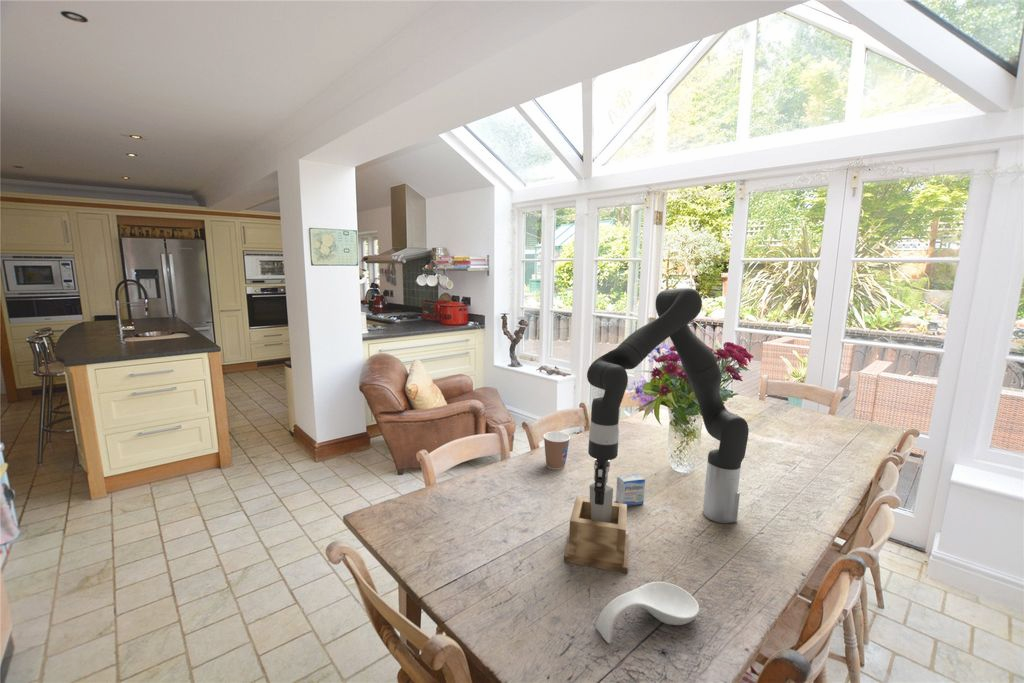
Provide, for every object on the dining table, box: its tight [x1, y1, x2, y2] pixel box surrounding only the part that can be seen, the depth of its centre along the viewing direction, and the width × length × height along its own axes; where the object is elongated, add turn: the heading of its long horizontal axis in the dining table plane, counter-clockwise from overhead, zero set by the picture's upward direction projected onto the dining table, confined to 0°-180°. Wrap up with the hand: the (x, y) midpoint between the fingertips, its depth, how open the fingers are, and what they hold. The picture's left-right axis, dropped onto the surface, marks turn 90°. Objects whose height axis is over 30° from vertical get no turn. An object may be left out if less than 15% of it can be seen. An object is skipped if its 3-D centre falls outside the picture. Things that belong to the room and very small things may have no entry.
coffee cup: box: [543, 431, 571, 470], centre depth 172 cm, size 10×10×12 cm
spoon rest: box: [595, 581, 700, 644], centre depth 97 cm, size 24×12×7 cm, turn 113°
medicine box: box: [615, 473, 646, 507], centre depth 146 cm, size 8×4×9 cm, turn 105°
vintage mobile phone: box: [589, 482, 614, 523], centre depth 120 cm, size 4×5×25 cm
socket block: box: [563, 496, 630, 574], centre depth 121 cm, size 16×15×11 cm
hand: (600, 496), depth 119 cm, fingers open, 8 cm apart
